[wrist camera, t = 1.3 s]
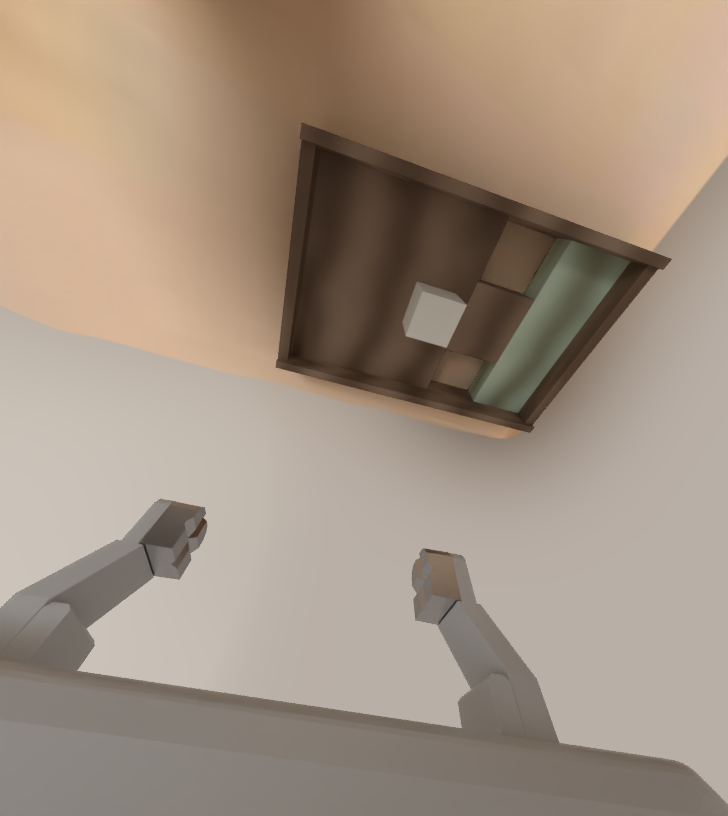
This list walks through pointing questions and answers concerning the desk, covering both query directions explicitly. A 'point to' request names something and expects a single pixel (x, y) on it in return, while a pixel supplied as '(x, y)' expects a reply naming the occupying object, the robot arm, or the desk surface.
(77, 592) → the robot arm
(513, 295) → the dark brown rimmed tray
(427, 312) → the block
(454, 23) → the desk surface
